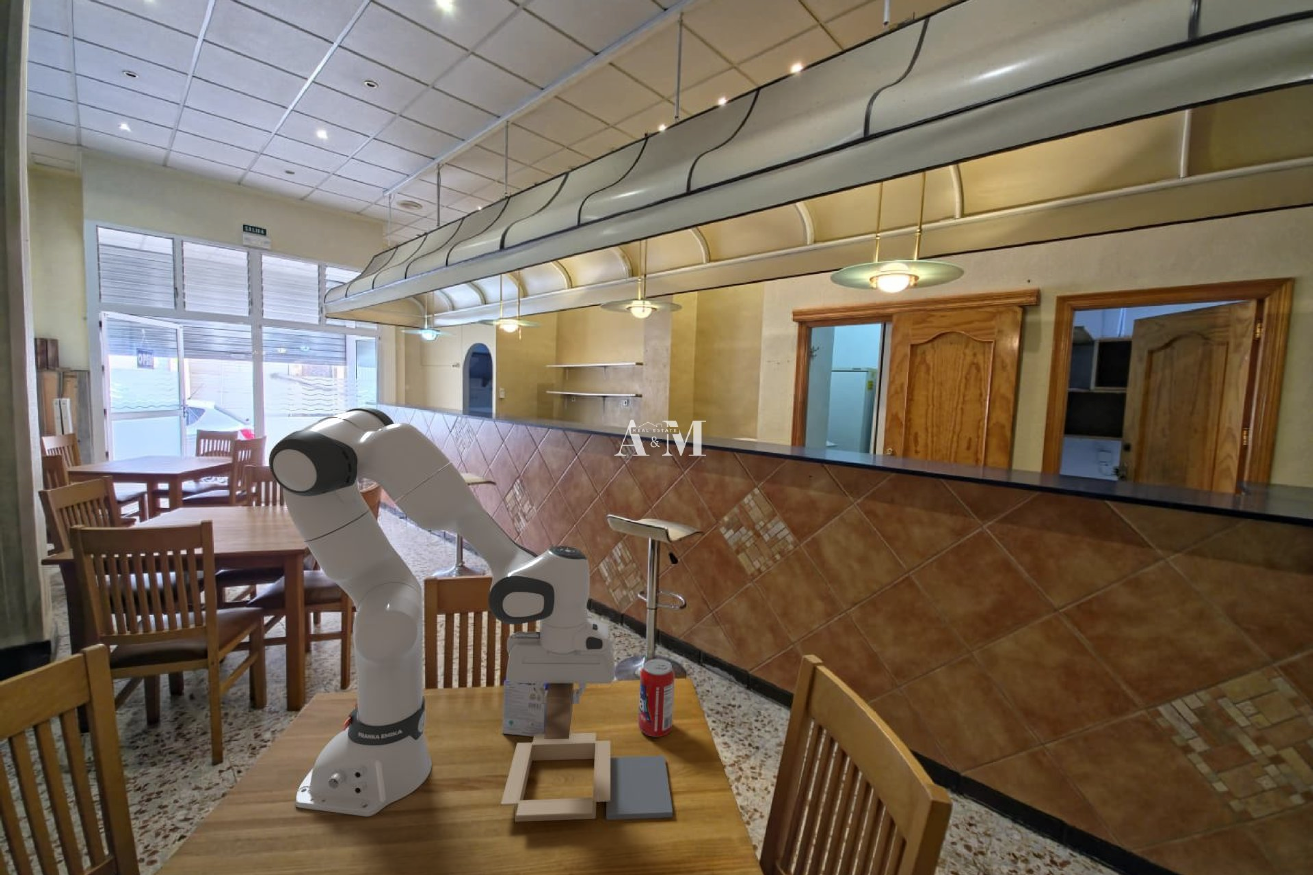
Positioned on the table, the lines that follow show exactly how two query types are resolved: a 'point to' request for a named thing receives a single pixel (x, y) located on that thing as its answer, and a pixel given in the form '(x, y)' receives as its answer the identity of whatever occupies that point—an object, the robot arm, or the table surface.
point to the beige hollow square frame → (558, 750)
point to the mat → (638, 788)
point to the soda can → (656, 697)
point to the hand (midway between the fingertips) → (560, 702)
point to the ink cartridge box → (523, 709)
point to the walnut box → (558, 710)
